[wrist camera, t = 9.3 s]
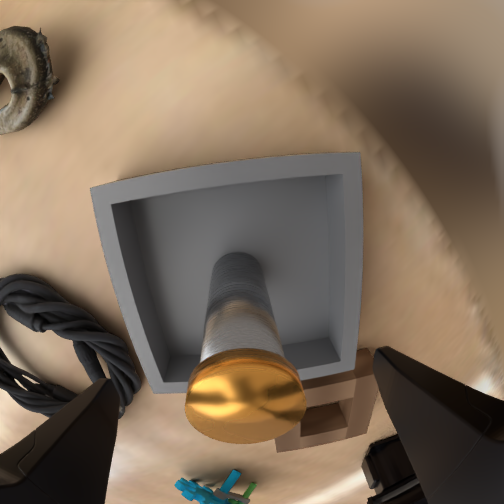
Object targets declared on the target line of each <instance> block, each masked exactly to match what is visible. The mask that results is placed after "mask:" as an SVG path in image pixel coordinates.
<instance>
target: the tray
mask: <svg viewBox="0 0 504 504" xmlns="http://www.w3.org/2000/svg"><path fill="white" fill-rule="evenodd" d="M90 191H91V197H92V202H93V208H94V213H95V217H96V222H97V227H98V231H99V235H100V240H101V244H102V248H103V252H104V256H105V260H106V263H107V267H108V271H109V274H110V278H111V281H112V284H113V288H114V291H115V294H116V297H117V301H118V304H119V307H120V310H121V313H122V316H123V319H124V321H125V324H126V327H127V330H128V333H129V335H130V338H131V341H132V343H133V346H134V349H135V351H136V354H137V356H138V359H139V361H140V364H141V366H142V368H143V371H144V373H145V375H146V378H147V380H148V382H149V385H150V387H151V389H152V391H153V393H154V394H163V393H187V388H188V382H189V378H190V375H191V373H192V372H193V370H194V369H195V368H196V366H197V365H198V364H200V358H201V350H202V341H203V333H204V325H205V317H206V310H207V302H208V295H209V288H210V281H211V274H212V269H213V266H214V264H215V263H216V261H217V260H218V259H219V258H221V257H222V256H223V255H225V254H228V253H231V252H244V253H247V254H249V255H251V256H253V257H254V258H255V259H256V260H257V261H258V262H259V263H260V265H261V267H262V271H263V275H264V278H265V282H266V286H267V290H268V294H269V298H270V302H271V306H272V309H273V313H274V317H275V321H276V325H277V329H278V333H279V337H280V341H281V344H282V348H283V352H284V356H285V359H287V360H288V361H289V362H291V363H292V364H293V365H294V367H295V368H296V370H297V372H298V374H299V377H300V380H306V379H312V378H317V377H322V376H327V375H332V374H336V373H341V372H345V371H350V370H354V368H355V360H356V352H357V343H358V333H359V322H360V309H361V294H362V273H363V192H362V171H361V156H360V152H326V153H308V154H294V155H281V156H270V157H260V158H251V159H242V160H234V161H226V162H218V163H211V164H204V165H198V166H191V167H185V168H179V169H173V170H168V171H162V172H157V173H152V174H147V175H142V176H137V177H132V178H127V179H123V180H118V181H114V182H110V183H107V184H103V185H99V186H96V187H92V188H90Z"/></svg>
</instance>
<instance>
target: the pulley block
mask: <svg viewBox="0 0 504 504" xmlns="http://www.w3.org/2000/svg"><path fill="white" fill-rule="evenodd" d="M46 42H47V37H46V36H44V35H42V33H41V27H40V32H39V33H36V32H35V31H34V30H32V29H31V28H29V27H20V26H13V27H10V28H7V29H4V30H2V31H0V84H1V83H2V81H3V80H4V78H5V77H6V78H7V79H8V82H9V84H10V87H11V94H12V96H11V100H10V102H9V103H8V104H7V105H5V106H4V107H3V108H2V109H0V135H2V134H6V133H9V132H15V131H19V130H22V129H24V128H25V127H27V126H29V125H30V124H31V123H32V122H33V121H34V120H35V119H36V118H37V116H38V115H39V114H40V113H41V111H42V110H43V108H44V106H45V105H46V103H47V101H48V100H51V99H54V97H53V95H52V88H53V85H54V84H57V83H58V81H59V78H57V77H56V76H54V75H53V72H52V66H51V60H50V57H49V47H48V45H47V43H46Z"/></svg>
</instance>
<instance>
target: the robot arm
mask: <svg viewBox="0 0 504 504" xmlns="http://www.w3.org/2000/svg"><path fill="white" fill-rule="evenodd" d="M373 374H374V376H375V379H376V382H377V385H378V388H379V391H380V393H381V396H382V399H383V402H384V405H385V408H386V410H387V412H388V414H389V416H390V418H391V421H392V423H393V425H394V427H395V429H396V431H397V433H398V435H397V436H394V437H391V438H388V439H385V440H382V441H379V442H376V443H373V444H371V445H370V446H369V448H368V451H367V454H366V456H365V458H364V460H363V463H362V469H363V472H364V474H365V477H366V480H367V482H368V485H369V488H370V489H375V492H376V494H377V495H375V496H373V497H369V498H368V502H367V504H504V401H503V400H500V399H497V398H494V397H492V396H489V395H487V394H484V393H482V392H480V391H478V390H475V389H473V388H471V387H469V386H467V385H466V386H465V384H463V383H461V382H459V381H457V380H455V379H452V378H450V377H448V376H446V375H444V374H442V373H440V372H438V371H436V370H434V369H432V368H430V367H428V366H426V365H424V364H422V363H420V362H418V361H416V360H414V359H412V358H410V357H408V356H406V355H404V354H402V353H400V352H398V351H396V350H394V349H393V348H391V347H388V346H384V347H381V348H377V349H376V351H375V355H374V361H373ZM119 408H120V395H119V393H118V391H117V389H116V388H115V386H114V384H113V382H112V380H111V379H108V378H100V379H98V380H97V381H96V382H94V383H93V384H92V385H91V386H89V387H88V388H87V389H86V390H84V391H83V392H82V393H81V394H79V395H78V396H77V397H76V398H74V399H73V400H72V401H71V402H69V403H68V404H67V405H66V406H64V407H63V408H62V409H60V410H59V411H58V412H57V413H55V414H54V415H53V416H52V417H50V418H49V419H48V420H47V421H45V422H44V423H43V424H42V425H40V426H39V427H38V428H36V430H34V431H33V432H31V433H30V434H29V435H28V436H26V437H25V438H24V439H22V440H21V441H20V442H18V443H17V444H15V445H14V446H12V447H11V448H9V449H7V450H6V451H4V452H3V453H1V454H0V504H105V498H106V491H107V485H108V478H109V473H110V467H111V462H112V456H113V451H114V446H115V441H116V436H117V427H118V417H119Z"/></svg>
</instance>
